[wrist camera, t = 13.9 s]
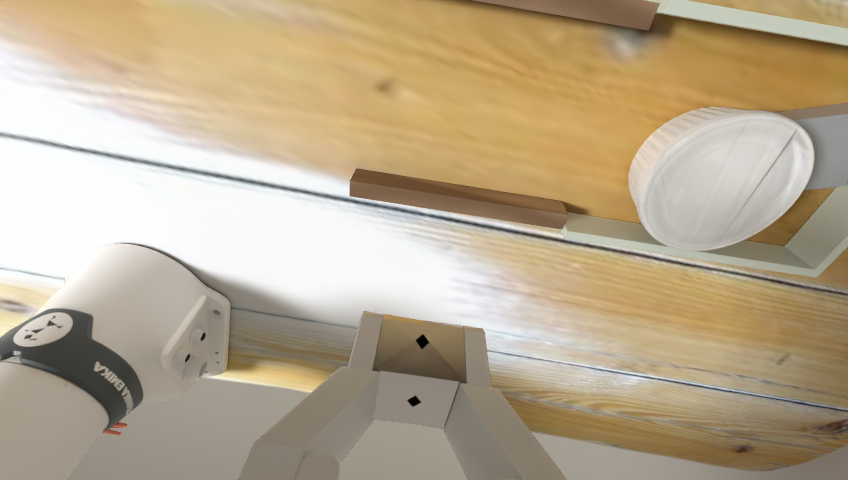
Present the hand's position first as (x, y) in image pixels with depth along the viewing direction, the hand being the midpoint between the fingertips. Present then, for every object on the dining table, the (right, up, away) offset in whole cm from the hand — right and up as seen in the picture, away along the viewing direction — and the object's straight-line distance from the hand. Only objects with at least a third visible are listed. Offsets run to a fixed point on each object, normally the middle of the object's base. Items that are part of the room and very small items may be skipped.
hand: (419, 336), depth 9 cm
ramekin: (+22, +9, +22) cm, 33 cm away
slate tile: (+30, +10, +20) cm, 38 cm away
